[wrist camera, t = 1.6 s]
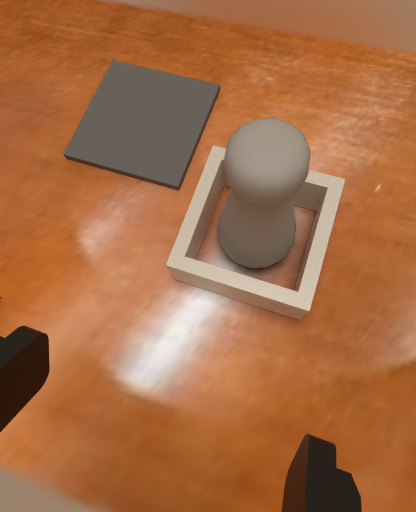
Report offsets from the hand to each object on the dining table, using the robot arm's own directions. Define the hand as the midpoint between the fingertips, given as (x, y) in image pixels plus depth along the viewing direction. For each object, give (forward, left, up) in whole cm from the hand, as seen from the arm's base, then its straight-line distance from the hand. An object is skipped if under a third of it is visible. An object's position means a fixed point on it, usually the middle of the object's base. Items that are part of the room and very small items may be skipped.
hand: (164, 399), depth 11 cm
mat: (-13, +20, -17) cm, 29 cm away
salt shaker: (0, +12, -17) cm, 21 cm away
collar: (0, +12, -17) cm, 20 cm away
